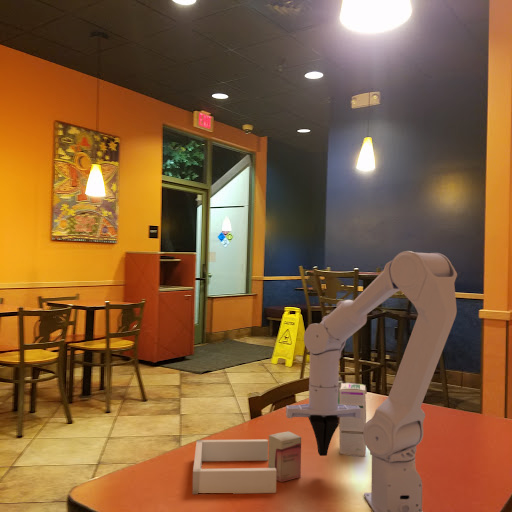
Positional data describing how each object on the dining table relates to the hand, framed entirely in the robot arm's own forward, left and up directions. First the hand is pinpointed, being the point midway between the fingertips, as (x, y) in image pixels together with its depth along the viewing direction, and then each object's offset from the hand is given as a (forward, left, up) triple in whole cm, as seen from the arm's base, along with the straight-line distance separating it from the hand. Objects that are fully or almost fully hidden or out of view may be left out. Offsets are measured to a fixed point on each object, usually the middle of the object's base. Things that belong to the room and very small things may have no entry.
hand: (322, 453), depth 99 cm
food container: (+37, -14, -4) cm, 40 cm away
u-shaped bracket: (+1, +17, -4) cm, 18 cm away
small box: (0, +7, -4) cm, 9 cm away
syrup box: (+13, -10, -4) cm, 17 cm away
